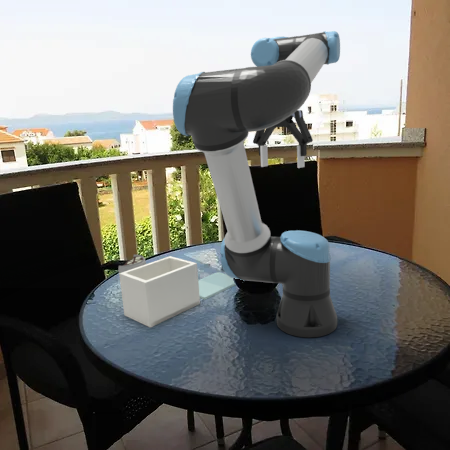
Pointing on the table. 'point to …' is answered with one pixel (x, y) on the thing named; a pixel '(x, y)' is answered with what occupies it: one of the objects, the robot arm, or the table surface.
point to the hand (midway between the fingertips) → (282, 167)
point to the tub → (159, 290)
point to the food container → (132, 263)
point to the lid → (214, 284)
